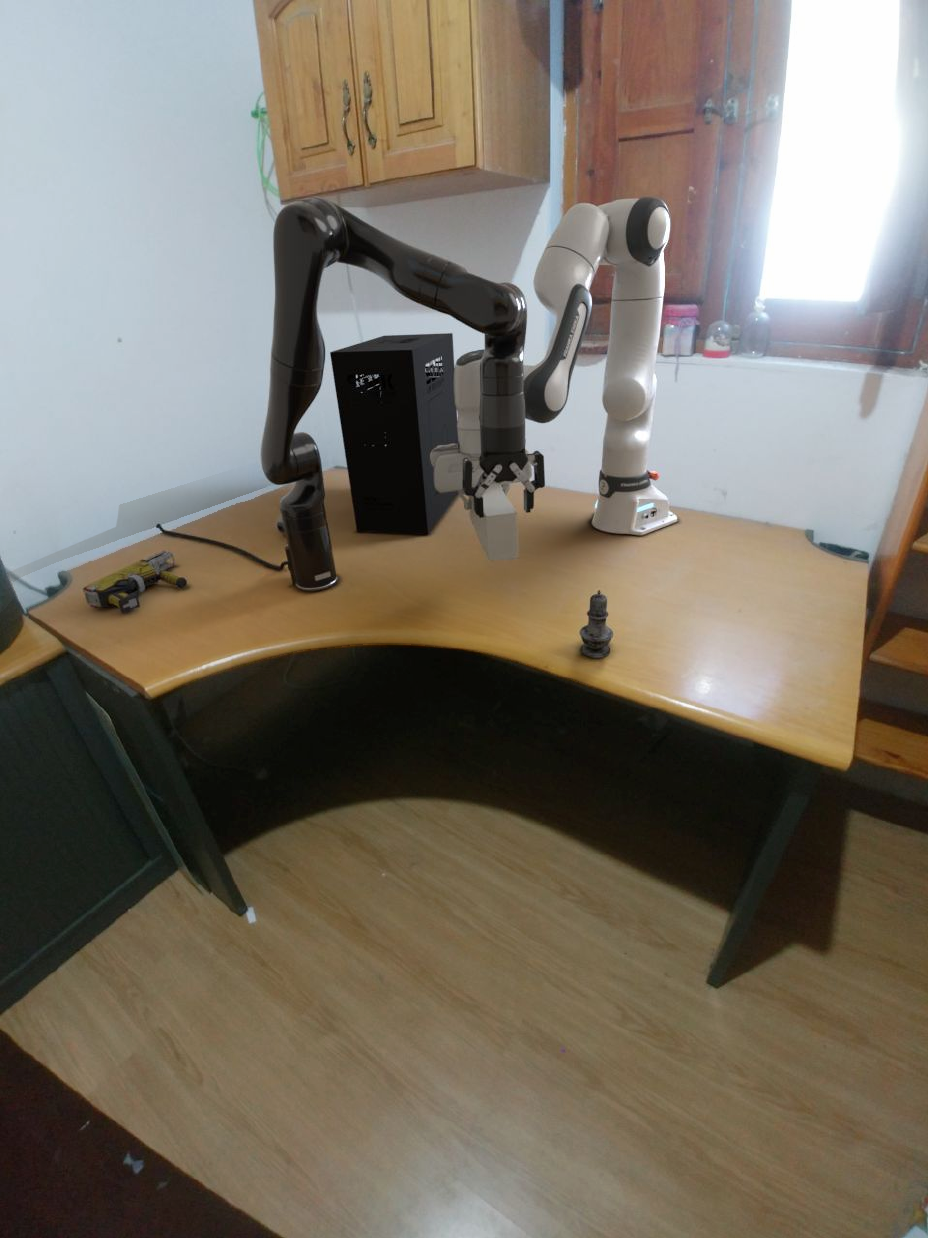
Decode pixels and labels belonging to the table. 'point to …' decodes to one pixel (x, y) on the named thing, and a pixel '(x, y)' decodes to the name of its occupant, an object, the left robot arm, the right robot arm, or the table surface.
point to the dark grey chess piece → (596, 628)
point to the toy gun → (131, 583)
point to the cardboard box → (396, 428)
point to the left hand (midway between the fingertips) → (504, 513)
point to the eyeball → (280, 524)
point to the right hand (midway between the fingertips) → (484, 506)
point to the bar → (496, 525)
